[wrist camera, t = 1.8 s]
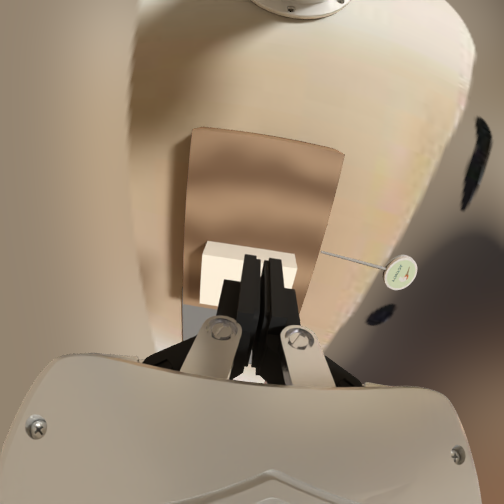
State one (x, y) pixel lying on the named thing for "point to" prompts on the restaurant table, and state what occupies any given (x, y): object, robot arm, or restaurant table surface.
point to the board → (257, 199)
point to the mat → (196, 320)
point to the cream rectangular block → (235, 267)
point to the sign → (393, 270)
